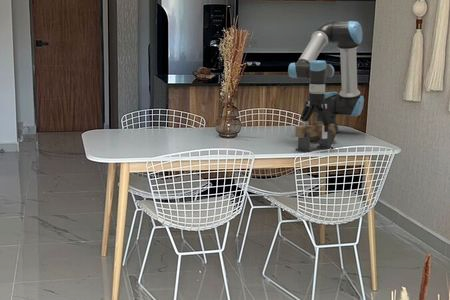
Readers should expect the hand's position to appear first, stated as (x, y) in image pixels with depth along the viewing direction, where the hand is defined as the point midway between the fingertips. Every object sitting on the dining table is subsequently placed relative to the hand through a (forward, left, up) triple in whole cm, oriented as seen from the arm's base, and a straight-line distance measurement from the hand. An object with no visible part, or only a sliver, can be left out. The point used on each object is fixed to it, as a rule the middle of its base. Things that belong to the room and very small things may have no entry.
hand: (315, 136), depth 290 cm
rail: (0, 0, 0) cm, 0 cm away
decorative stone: (-19, -15, -7) cm, 25 cm away
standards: (0, 0, -7) cm, 7 cm away
